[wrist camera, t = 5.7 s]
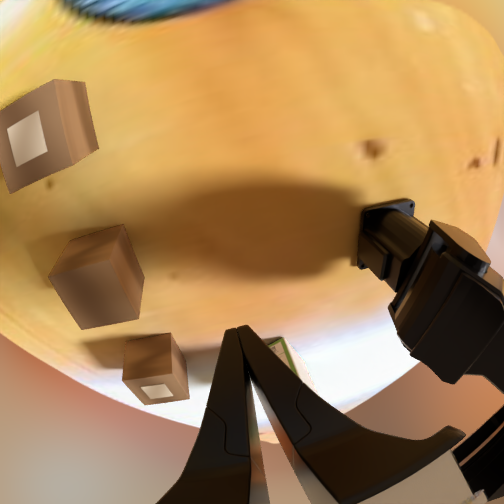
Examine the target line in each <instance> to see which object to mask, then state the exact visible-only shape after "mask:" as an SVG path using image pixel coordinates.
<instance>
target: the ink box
mask: <svg viewBox="0 0 504 504" xmlns="http://www.w3.org/2000/svg"><path fill="white" fill-rule="evenodd" d="M268 347H269V348H270V349H271V350H272V351H273V352H274V353H275V354H276V355H277V356H278V357H279V358H280V359H281V360H282V361H283V362H284V363H285V364H286V365H287V366H288V367H289V368H290V369H291V370H292V371H293V372H294V373H295V374H296V375H297V376H298V377H299V378H300V379H301V380H302V381H303V382H304V383H305V384H306V385H308V386H309V387H310V388H311V389H312V390H313V391H314V392H315V393H316V394H317V395H318V396H319V394H318V392H317V390H316V388H315V386H314V383H313V381H312V379H311V376H310V374H309V372H308V370H307V367H306V365H305V362H304V360H303V359H302V358H301V357H300V356H299V354H298V353H297V352H296V351H295V350H294V348H293V347H292V346H291V345H290V344H289V343H288V342H287V340H286V339H285V338H281V339H279V340H277V341H276V342H274V343H272V344H270V345H268Z"/></svg>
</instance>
